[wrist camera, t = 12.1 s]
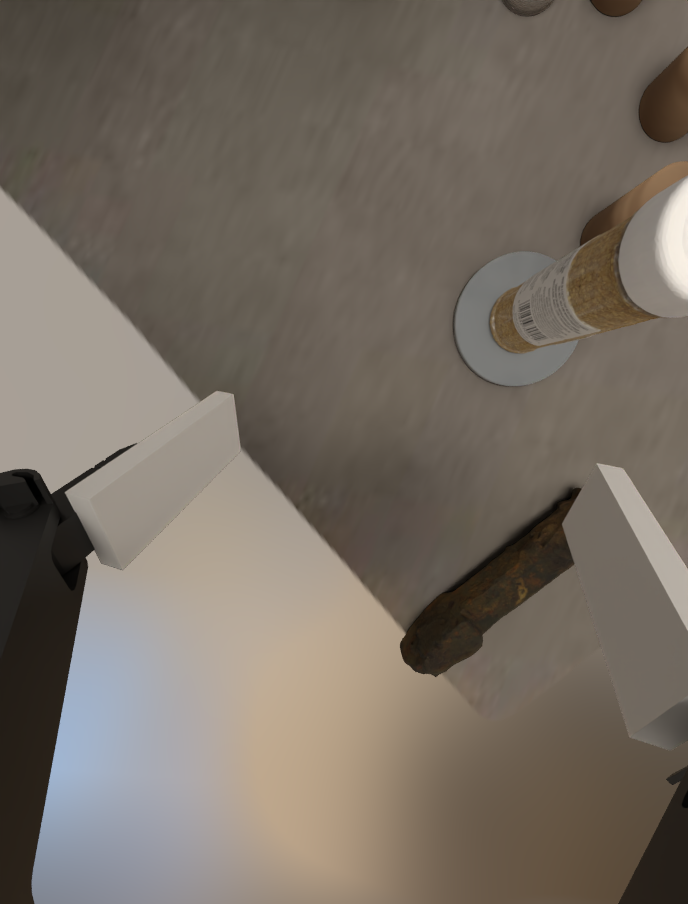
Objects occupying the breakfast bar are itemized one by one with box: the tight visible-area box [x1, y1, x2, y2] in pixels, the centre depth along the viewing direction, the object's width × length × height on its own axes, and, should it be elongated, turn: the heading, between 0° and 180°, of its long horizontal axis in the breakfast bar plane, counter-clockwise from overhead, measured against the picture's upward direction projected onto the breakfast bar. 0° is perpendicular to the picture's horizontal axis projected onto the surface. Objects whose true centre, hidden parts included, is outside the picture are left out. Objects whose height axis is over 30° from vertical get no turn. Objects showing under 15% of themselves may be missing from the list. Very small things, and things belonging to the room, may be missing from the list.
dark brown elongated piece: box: [400, 488, 582, 677], centre depth 26 cm, size 19×4×5 cm, turn 128°
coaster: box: [453, 251, 578, 386], centre depth 25 cm, size 9×9×1 cm
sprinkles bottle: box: [490, 175, 688, 354], centre depth 18 cm, size 5×5×14 cm
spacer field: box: [581, 0, 688, 246], centre depth 20 cm, size 26×18×5 cm
